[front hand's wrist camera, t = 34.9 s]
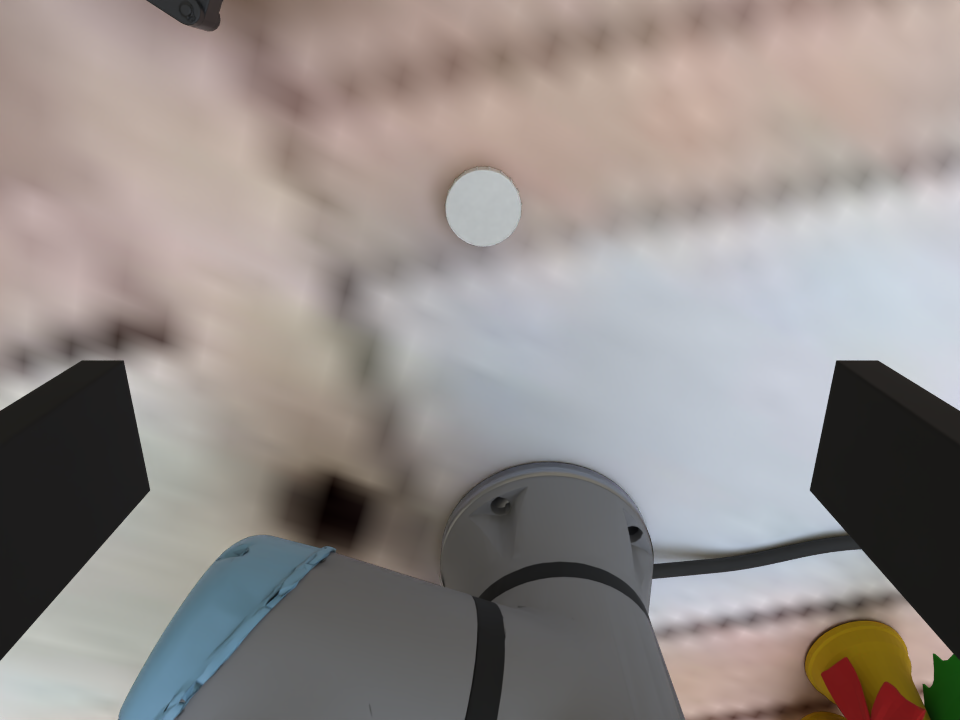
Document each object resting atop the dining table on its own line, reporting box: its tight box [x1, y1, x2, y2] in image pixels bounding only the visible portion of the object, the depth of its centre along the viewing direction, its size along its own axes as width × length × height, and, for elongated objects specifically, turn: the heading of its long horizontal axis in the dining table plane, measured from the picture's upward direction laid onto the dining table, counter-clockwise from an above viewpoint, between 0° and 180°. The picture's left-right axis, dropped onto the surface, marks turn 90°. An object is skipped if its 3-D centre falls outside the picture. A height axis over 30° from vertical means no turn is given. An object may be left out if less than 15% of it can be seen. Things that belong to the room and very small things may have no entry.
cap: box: [445, 166, 522, 247], centre depth 39 cm, size 4×4×2 cm
